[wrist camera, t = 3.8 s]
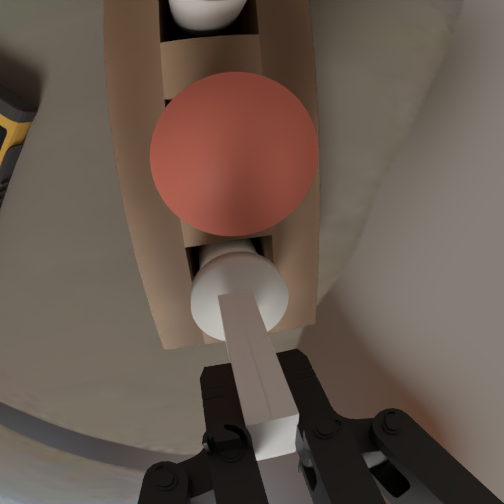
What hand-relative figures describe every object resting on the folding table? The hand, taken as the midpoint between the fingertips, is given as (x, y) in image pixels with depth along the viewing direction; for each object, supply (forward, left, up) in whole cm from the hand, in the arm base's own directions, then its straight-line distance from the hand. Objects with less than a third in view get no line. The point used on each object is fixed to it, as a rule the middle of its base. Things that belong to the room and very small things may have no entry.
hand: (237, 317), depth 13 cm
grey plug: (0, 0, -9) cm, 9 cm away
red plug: (0, +7, -5) cm, 9 cm away
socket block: (0, +7, -10) cm, 12 cm away
